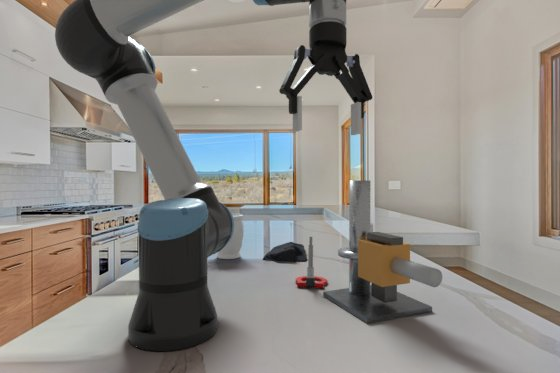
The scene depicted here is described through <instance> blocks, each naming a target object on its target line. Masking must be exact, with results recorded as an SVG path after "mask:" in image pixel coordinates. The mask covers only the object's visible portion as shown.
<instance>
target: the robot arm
mask: <svg viewBox="0 0 560 373" xmlns="http://www.w3.org/2000/svg"><path fill="white" fill-rule="evenodd" d="M203 1H204V0H74V1H72V2H71V3H70V4H69V5H68V6H67V7H65V9H64V10H63V11H62V12H61V14H60V16H59V18H58V20H57V22H56V24H55V32H54V39H55V44H56V48H57V49H58V52H59V55H60V56H61V57H62V59H63V60H64V61H65V62H66V63H67V65H69V66H70V67H71V68H72V69H73V70H76V71H77V72H79V73H81V74H83V75H86V76H88V77H90V78H92V79H95V80H96V82H97V83H98V85H99V87H100V89H101V92H102V94H103V95H104V97H105V99H106V100H107V102H108V103H111V104H114V105H117V107H118V109H119V111H120V113H121V115H122V117H123V120H124V121H125V123H126V124H127V127H128V129H129V132H130V133H131V135H132V136H133V139H134V141H135V142H136V145H137V147H138V149H139V150H140V153H141V155H142V157H143V159H144V161H145V163H146V164H147V165H146V166H147V168H148V169H149V171H150V173H151V174H152V177H153V179H154V181H155V183H156V185H157V186H158V187H157V188H158V189H159V190H160V193H161V195H162V197H163V198H164V199H161V200H155V201H151V202H148V203H146V204H144V205H143V206H142V207H141V209H140V210H139V213H138V223H137V233H138V234H137V235H138V282H139V283H138V294H137V298H136V301H135V304H134V307H133V310H132V313H131V315H130V319H129V323H128V327H127V329H128V335H127V336H128V338H127V339H128V342H129V341H130V342H129V343H130V344H131V345H132V346H133V345H134V346H133V347H135V346H137V347H138V348H137V347H136V348H137V349H140V348H141V349H140V350H144V349H145V351H150V350H154V351H153V352H168V351H178V350H182V349H188V348H190V347H195V346H197V345H200V344H201V343H203V342H205V341H207V340H209V339H211V337H213V336H214V335H215V334H216V333H217V331H218V314H217V311H216V306H215V304H214V301H213V298H212V295H211V293H210V289H209V286H208V258H210V257H211V256H213V255H215V254H218V252H219V251H221V250H222V249H223V248H224V247H225V246H226V244H227V243H228V242H229V241H230V239H231V237H232V235H233V232H234V219H233V216H232V214H233V213H232V212H231V210H230V208H228V207H227V206H226V205H225V204H224V203H222V202H220V201H219V199H218V197H217V195H216V193H215V192H214V189H213V188H212V186H211V185H209V184H206V183H203V182H202V181H201V179H200V177H199V175H198V173H197V171H196V170H195V168H194V165H193V163H192V161H191V159H190V158H189V155H188V154H187V151H186V150H185V148H184V145H183V144H182V141H181V140H180V137H179V136H178V133H177V132H176V130H175V128H174V125H173V124H172V121H171V120H170V118H169V116H168V114H167V112H166V110H165V108H164V106H163V104H162V102H161V100H160V98H159V96H158V95H157V93H156V88H157V86H158V79H157V77H156V76H155V74H156V65H155V64H156V63H155V61H154V59H153V57H152V55H151V53H150V52H149V51H148V50H147V49H146V47H144V46H143V45H142V44H141V43H140V42H138V41H137V40H136V39H133V38H132V37H130V36H132V35H134V34H136V33H137V32H140V31H142V30H144V29H146V28H148V27H151V26H153V25H155V24H157V23H159V22H161V21H164V20H165V19H167V18H169V17H172V16H174V15H176V14H178V13H180V12H182V11H185V10H186V9H188V8H191V7H193V6H195V5H197V4H199V3H201V2H203ZM252 1H253V3H254V4H255V5H257V6H268V7H273V6H277V5H278V6H279V5H280V6H281V5H289V4H297V3H302V4H303V3H309V4H308V5H309V6H308V7H309V9H308V12H309V13H308V14H309V15H308V19H309V20H308V27H309V31H308V37H309V38H308V40H309V41H308V46H309V49H308V48H306V46H305V45H304V44H301V45H299V46H298V47H297V48H296V49H295V50H294V55H293V56H294V57H293V61H292V63H291V65H290V67H289V69H288V71H287V73H286V75H285V78H284V80H283V82H282V83H281V86H280V88H279V89H278V90H279V94H281V95H285V97H286V98H287V99H288V114H289V115H292V132H293V133H297V132H300V131H303V96H302V95H299V93H301V91H303V89H304V88H305V86H307V84H308V82H309V81H311V79H312V78H313V77H314V76H315V75H316V73H317V74H318V75H321V76H322V75H326V76H329V77H333V76H334V78H335V79H336V80H338V81H339V83H340V84H341V86H342V87H343V88H344V90H345V91H346V93H347V94H348V96H349V97H350V99H351V101H352V103H351V104H350V136H357V135H361V134H362V120H363V119H364V117H365V103H367V102H369V101H371V100H372V99H373V95H372V92H371V90H370V87H369V84H368V81H367V79H366V77H365V75H364V72H363V69H362V67H361V61H360V60H361V59H360V55H359V54H358V53H355V54H353V55H347V53H346V52H347V51H346V48H347V0H252ZM306 59H308V60H309V62H310V63H311V65H310V66H309V67H308V68H307V70H306V72H305V73H304V74H303V75H302V76H301V78H300V79H299V80H298V81H297V82H296V83H295V85H293V84H294V81H295V79H296V77H297V75H298V72H299V71H300V69H301V67H302V64H303V62H304V60H306ZM292 85H293V87H292ZM155 350H156V351H155Z"/></svg>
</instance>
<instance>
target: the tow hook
mask: <svg viewBox="0 0 560 373" xmlns="http://www.w3.org/2000/svg"><path fill="white" fill-rule="evenodd" d="M308 243H309V244H308V251H307V252H308V256H307V259H308V260H307V263H308V265H307V269H306V272H307V275H303V276H297V277H296V278H295V283H296V287H297V288H306V289H324V287H325V286H327V284H328V279H327V278H325V277H322V276H315V267H314V245H313V236H309V240H308Z"/></svg>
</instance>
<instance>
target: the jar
mask: <svg viewBox="0 0 560 373" xmlns="http://www.w3.org/2000/svg"><path fill="white" fill-rule="evenodd" d="M232 216H233V219H234V232H233V235H232V237H231V239H230V241H229V242H228V243H227V244H226V246H225V247H224V248H223V249H222V250H221V251H219V252H217V253H216V258H218V259H220V260H235V259H239V258H240V257H241V253H240V252H241V249H242V247H243V239H244V223H243V219H244V214H239V213H232Z"/></svg>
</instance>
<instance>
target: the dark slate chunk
mask: <svg viewBox="0 0 560 373" xmlns="http://www.w3.org/2000/svg"><path fill="white" fill-rule="evenodd" d="M307 259H308V256H307V254H306V249H305V246H304V244H301V243H298V242H294V241H289V242H286V243H281V244H279V245H276V246H273V248H272V249H271V250H270V251H268V252H266V254H265V255H264V256H263V258H262V261H266V262H280V263H284V262H285V263H287V262H288V263H296V262H307V261H308V260H307Z"/></svg>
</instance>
